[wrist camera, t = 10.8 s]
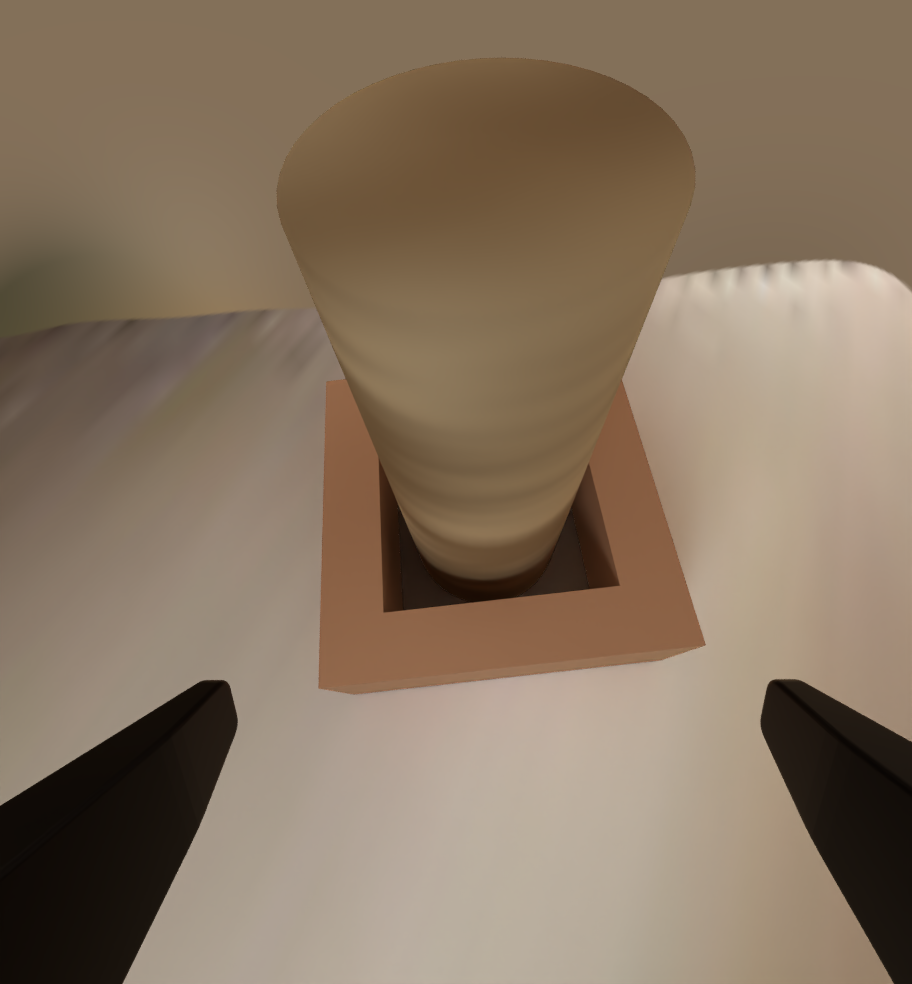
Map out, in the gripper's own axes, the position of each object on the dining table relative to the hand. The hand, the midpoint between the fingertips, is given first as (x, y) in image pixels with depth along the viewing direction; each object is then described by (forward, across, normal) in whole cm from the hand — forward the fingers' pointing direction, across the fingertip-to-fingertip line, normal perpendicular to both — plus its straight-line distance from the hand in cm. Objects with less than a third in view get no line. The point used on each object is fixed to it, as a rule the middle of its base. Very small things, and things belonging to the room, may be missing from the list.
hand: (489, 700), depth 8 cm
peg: (+10, 0, +1) cm, 10 cm away
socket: (+10, 0, +1) cm, 10 cm away
